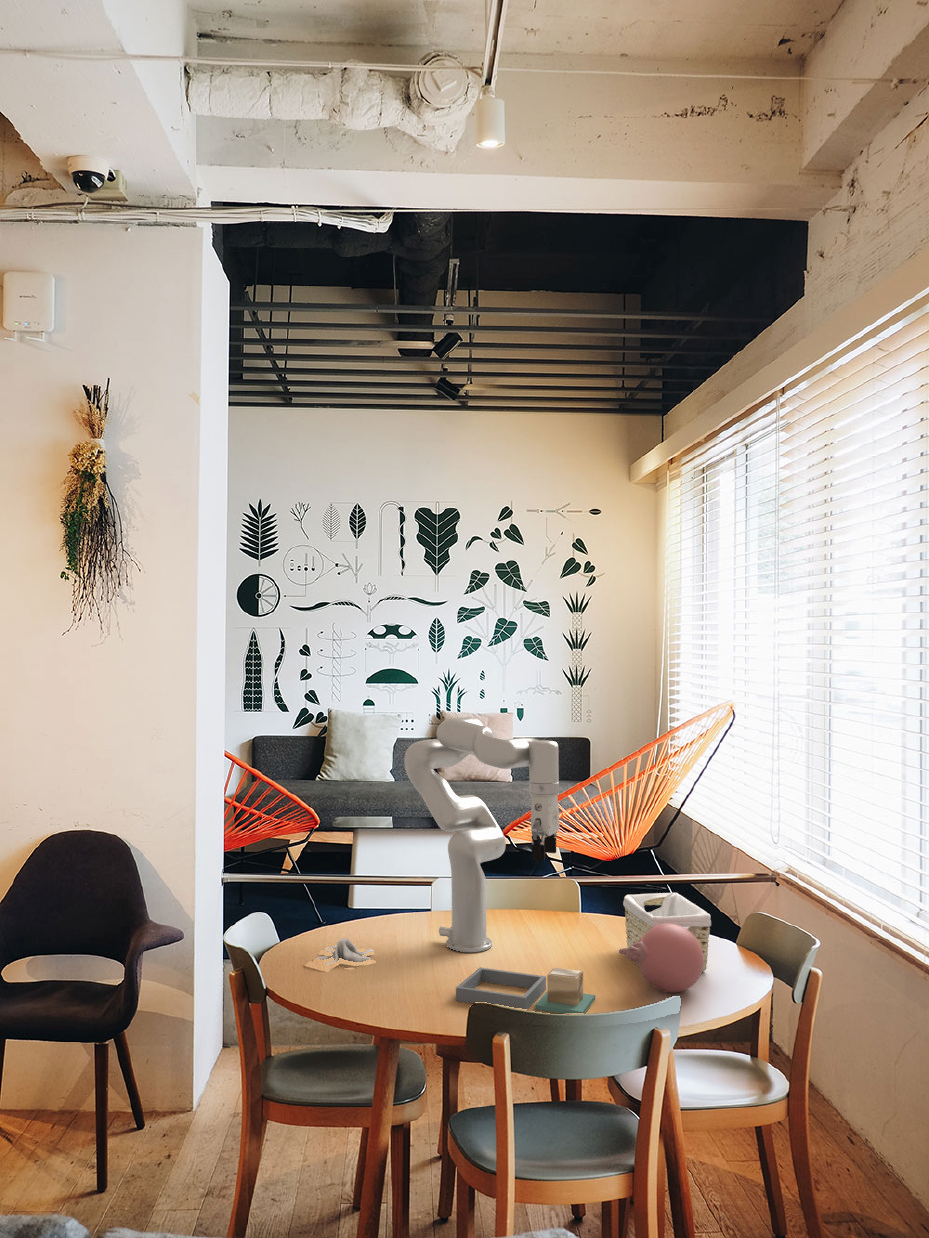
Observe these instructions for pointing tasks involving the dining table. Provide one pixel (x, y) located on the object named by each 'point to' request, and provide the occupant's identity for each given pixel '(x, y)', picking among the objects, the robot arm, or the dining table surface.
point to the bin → (534, 982)
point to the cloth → (346, 952)
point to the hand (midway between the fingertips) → (544, 856)
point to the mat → (565, 1005)
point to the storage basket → (665, 917)
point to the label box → (565, 986)
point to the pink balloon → (668, 957)
